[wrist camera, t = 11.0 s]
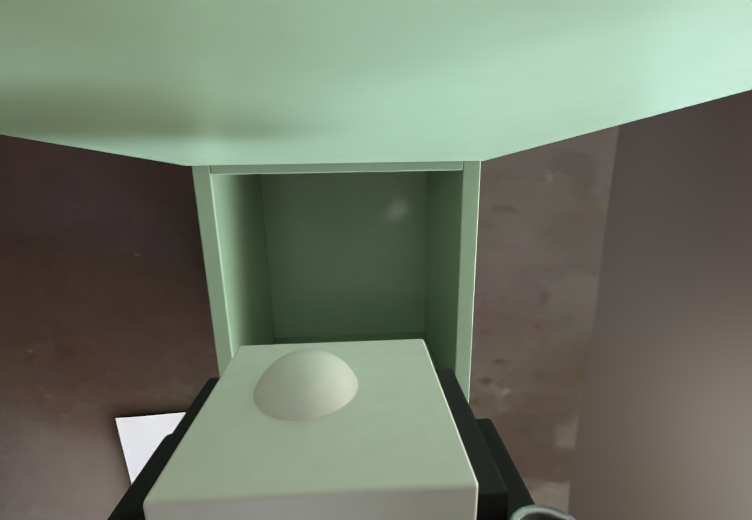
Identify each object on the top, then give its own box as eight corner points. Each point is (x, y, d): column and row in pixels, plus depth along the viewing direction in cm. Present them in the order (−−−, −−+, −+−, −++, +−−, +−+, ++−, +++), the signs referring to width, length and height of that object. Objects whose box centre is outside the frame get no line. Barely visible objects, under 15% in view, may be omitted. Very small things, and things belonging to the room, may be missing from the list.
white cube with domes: (236, 318, 9) (100, 498, 4) (424, 311, 10) (499, 477, 5) (259, 522, 11) (178, 828, 6) (420, 512, 11) (474, 800, 6)
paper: (159, 583, 34) (153, 596, 33) (105, 418, 30) (96, 427, 29) (437, 546, 35) (440, 558, 34) (424, 379, 31) (426, 387, 30)
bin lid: (1213, -32, 2) (1256, -178, 2) (-1075, -48, 2) (-1185, -241, 2) (484, 160, 17) (485, 141, 17) (185, 166, 16) (183, 145, 16)
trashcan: (432, 336, 30) (468, 418, 20) (267, 342, 29) (225, 430, 20) (436, 154, 27) (481, 151, 17) (249, 157, 26) (189, 155, 16)
